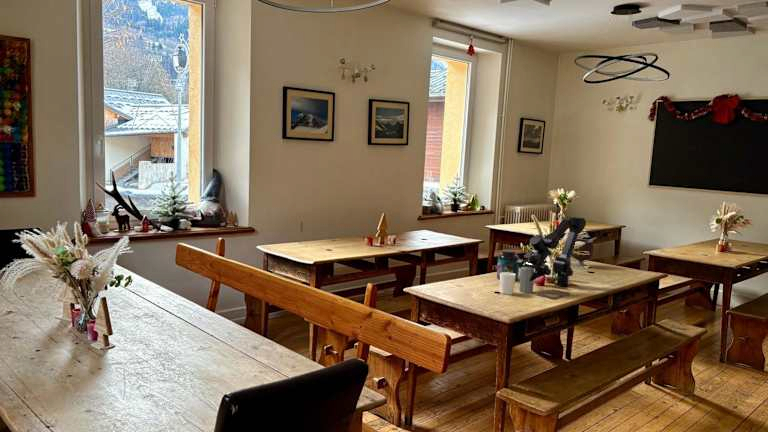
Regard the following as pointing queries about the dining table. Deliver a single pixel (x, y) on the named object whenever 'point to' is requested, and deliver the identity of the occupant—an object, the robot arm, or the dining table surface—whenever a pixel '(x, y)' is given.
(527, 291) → the canister
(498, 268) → the container
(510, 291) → the white cup
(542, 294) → the walnut board
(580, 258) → the mate gourd
